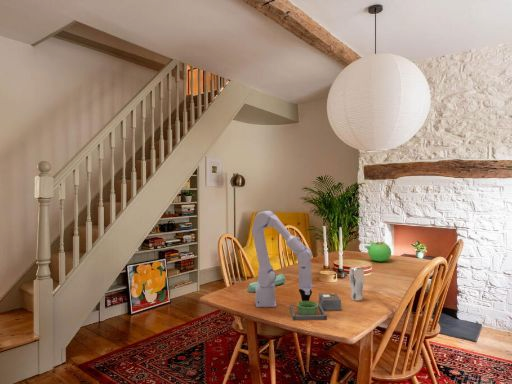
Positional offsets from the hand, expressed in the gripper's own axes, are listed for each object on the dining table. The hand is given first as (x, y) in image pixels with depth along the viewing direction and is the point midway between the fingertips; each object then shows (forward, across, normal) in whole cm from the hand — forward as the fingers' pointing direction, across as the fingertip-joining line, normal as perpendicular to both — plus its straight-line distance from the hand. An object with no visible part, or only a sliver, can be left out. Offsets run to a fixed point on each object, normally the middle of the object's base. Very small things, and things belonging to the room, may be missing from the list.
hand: (305, 305), depth 153 cm
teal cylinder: (+2, +34, +17) cm, 38 cm away
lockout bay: (+1, -6, 0) cm, 6 cm away
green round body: (+2, +97, -68) cm, 118 cm away
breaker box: (+1, +3, -12) cm, 12 cm away
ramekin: (+2, -6, 0) cm, 6 cm away
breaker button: (-1, +3, -10) cm, 10 cm away
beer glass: (+2, +13, -27) cm, 30 cm away
